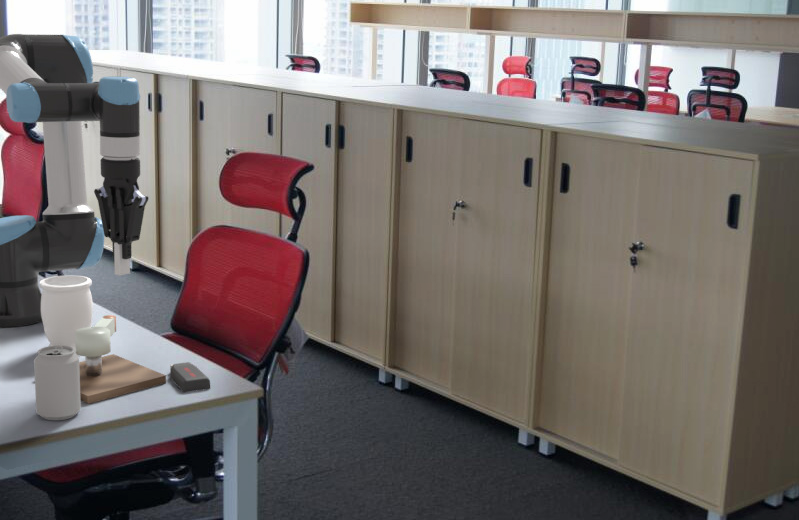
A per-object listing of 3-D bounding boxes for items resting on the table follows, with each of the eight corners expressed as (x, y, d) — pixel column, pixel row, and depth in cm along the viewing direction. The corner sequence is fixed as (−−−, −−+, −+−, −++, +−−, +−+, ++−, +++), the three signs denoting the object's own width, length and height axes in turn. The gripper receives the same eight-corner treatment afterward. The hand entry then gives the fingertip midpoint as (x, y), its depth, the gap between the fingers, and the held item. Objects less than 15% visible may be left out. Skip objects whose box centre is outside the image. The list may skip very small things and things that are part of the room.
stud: (82, 373, 203) (82, 352, 202) (96, 370, 205) (95, 349, 204) (91, 377, 201) (90, 356, 200) (105, 373, 203) (104, 353, 202)
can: (29, 421, 182) (26, 355, 180) (45, 405, 190) (43, 342, 187) (72, 423, 182) (69, 357, 179) (86, 407, 189) (84, 344, 187)
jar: (78, 359, 216) (76, 288, 212) (32, 354, 218) (29, 284, 214) (103, 344, 226) (101, 276, 223) (58, 340, 228) (56, 272, 225)
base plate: (37, 379, 203) (36, 372, 202) (113, 361, 215) (113, 354, 215) (88, 403, 191) (88, 396, 191) (166, 382, 204) (165, 375, 203)
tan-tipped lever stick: (105, 357, 199) (104, 336, 198) (71, 356, 199) (70, 335, 198) (127, 332, 215) (126, 313, 214) (95, 331, 215) (95, 312, 214)
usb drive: (184, 393, 199) (183, 380, 198) (165, 374, 209) (165, 361, 209) (210, 390, 201) (210, 376, 201) (191, 371, 212) (191, 358, 211)
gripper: (158, 159, 205) (159, 275, 211) (111, 151, 212) (114, 264, 217) (129, 162, 199) (131, 283, 205) (82, 155, 206) (85, 271, 211)
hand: (122, 273), depth 211 cm, fingers closed
